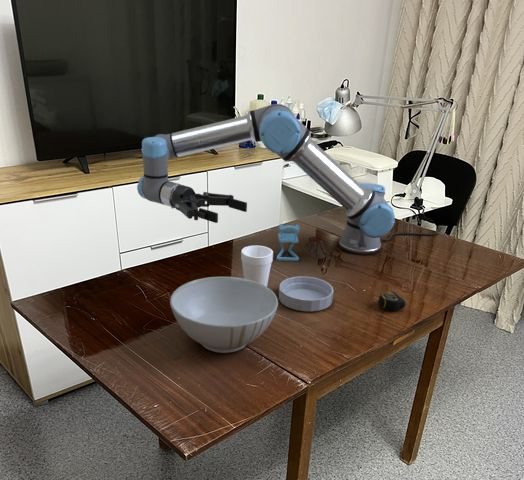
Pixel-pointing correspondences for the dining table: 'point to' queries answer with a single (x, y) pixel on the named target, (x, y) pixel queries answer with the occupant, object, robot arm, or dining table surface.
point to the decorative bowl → (224, 311)
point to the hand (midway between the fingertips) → (232, 212)
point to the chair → (288, 238)
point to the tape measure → (391, 301)
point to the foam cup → (257, 263)
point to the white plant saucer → (305, 293)
